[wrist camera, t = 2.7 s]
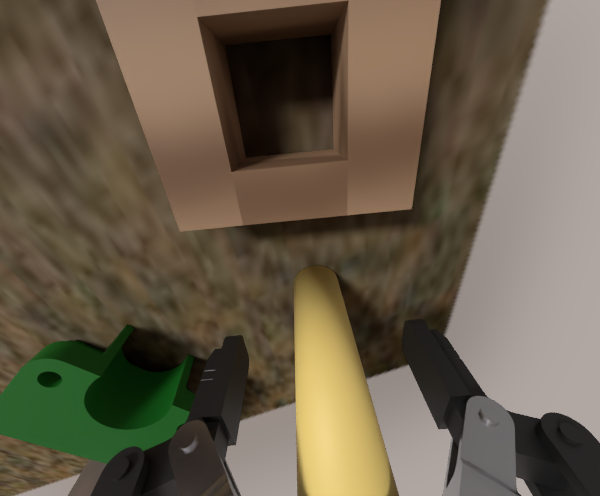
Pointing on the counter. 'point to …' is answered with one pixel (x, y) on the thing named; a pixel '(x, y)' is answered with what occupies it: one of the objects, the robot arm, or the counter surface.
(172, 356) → the counter surface
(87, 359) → the clamp
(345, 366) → the peg
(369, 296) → the counter surface
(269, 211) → the hole block
